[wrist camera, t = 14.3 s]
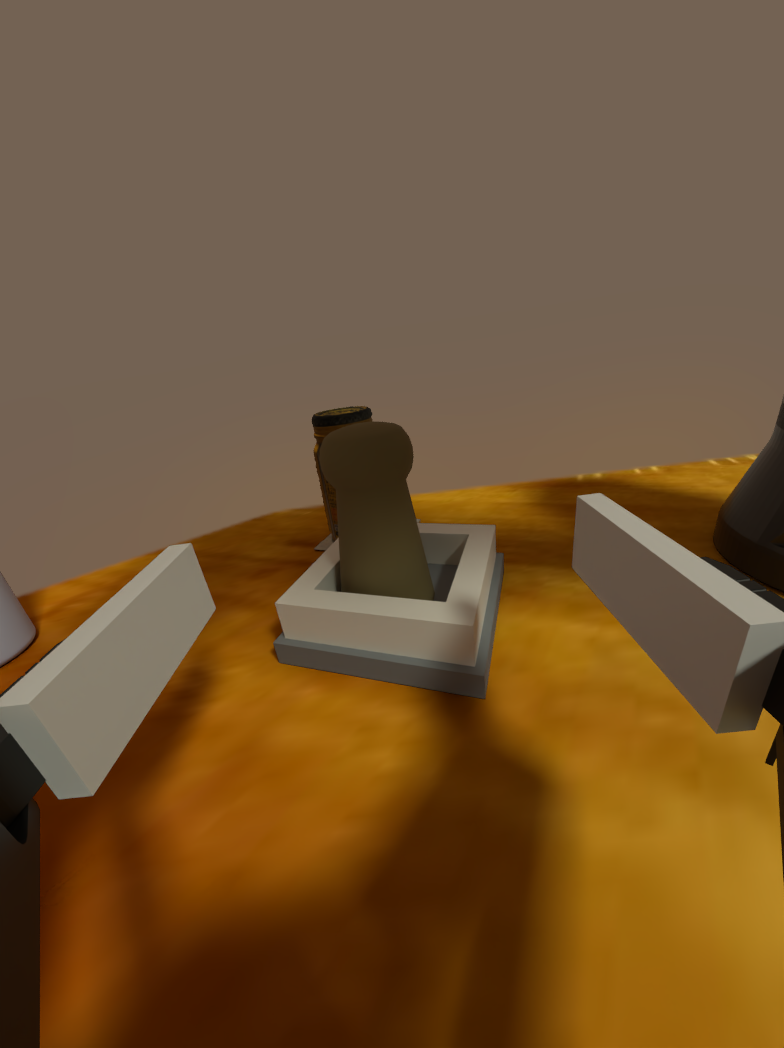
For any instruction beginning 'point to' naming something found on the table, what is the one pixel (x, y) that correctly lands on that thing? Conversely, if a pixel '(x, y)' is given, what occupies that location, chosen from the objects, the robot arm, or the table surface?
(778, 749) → the robot arm
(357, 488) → the cork
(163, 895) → the table surface
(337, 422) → the condiment
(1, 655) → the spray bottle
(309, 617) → the collar holder
